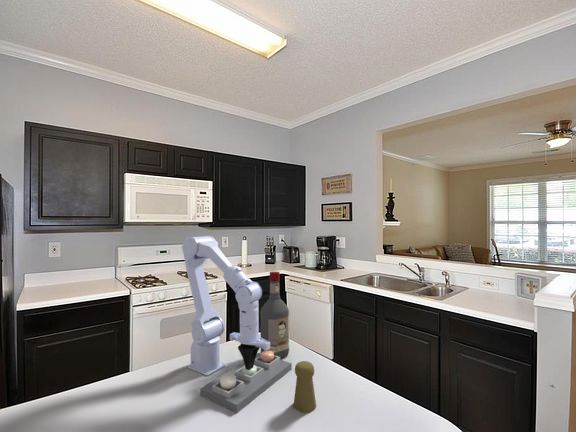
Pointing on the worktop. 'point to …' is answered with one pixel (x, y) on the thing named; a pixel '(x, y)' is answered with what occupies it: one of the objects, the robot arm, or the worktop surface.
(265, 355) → the terracotta button
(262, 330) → the liquor
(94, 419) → the worktop surface
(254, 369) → the sage button
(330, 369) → the worktop surface
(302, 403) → the olive pawn
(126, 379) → the worktop surface
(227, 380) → the cream button
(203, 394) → the button panel
